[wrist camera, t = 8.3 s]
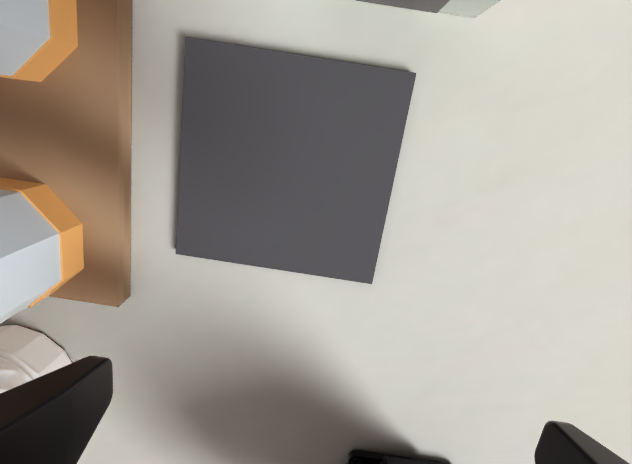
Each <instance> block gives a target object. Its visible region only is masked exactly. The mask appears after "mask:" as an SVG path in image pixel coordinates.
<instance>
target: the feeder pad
mask: <svg viewBox="0 0 632 464" xmlns="http://www.w3.org/2000/svg"><path fill="white" fill-rule="evenodd" d="M415 77H416V73H413V72H407V71H400V70H394V69H388V68H381V67H375V66H369V65H362V64H356V63H350V62H343V61H337V60H330V59H324V58H318V57H311V56H305V55H299V54H292V53H286V52H280V51H273V50H267V49H261V48H254V47H248V46H242V45H235V44H229V43H222V42H216V41H210V40H203V39H197V38H191V37H185V57H184V80H183V102H182V125H181V148H180V170H179V193H178V216H177V239H176V254H180V255H186V256H193V257H199V258H206V259H212V260H219V261H225V262H232V263H238V264H245V265H252V266H258V267H265V268H271V269H278V270H284V271H291V272H297V273H304V274H310V275H317V276H323V277H330V278H336V279H343V280H349V281H356V282H362V283H369V284H372V281H373V276H374V272H375V267H376V262H377V257H378V253H379V248H380V243H381V238H382V234H383V229H384V224H385V219H386V215H387V210H388V205H389V200H390V196H391V191H392V186H393V181H394V177H395V172H396V167H397V162H398V158H399V153H400V148H401V143H402V139H403V134H404V129H405V124H406V120H407V115H408V110H409V105H410V101H411V96H412V91H413V86H414V81H415Z"/></svg>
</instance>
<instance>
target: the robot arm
mask: <svg viewBox="0 0 632 464" xmlns="http://www.w3.org/2000/svg"><path fill="white" fill-rule="evenodd" d="M112 394H113V372H112V362H111V360H110V359H109V358H105V357H98V356H88V357H85V358H83V359H81V360H78V361H76V362H74V363H71V364H69V365H66V366H64V367H62V368H59V369H57V370H55V371H52V372H50V373H48V374H45V375H43V376H41V377H38V378H36V379H33V380H31V381H29V382H26V383H24V384H22V385H19V386H17V387H15V388H12V389H10V390H7V391H5V392H3V393H0V464H77V462H78V460H79V459H80V457H81V455H82V453H83V451H84V450H85V448H86V446H87V444H88V442H89V440H90V439H91V437H92V435H93V433H94V431H95V430H96V428H97V426H98V424H99V422H100V420H101V419H102V417H103V415H104V413H105V411H106V409H107V408H108V406H109V404H110V401H111V399H112ZM354 459H358V460H354ZM346 464H447V463H441V462H434V461H427V460H421V459H414V458H407V457H401V456H394V455H388V454H381V453H374V452H368V451H361V450H353V451H351V452H350V453H349V454H348V458H347V462H346ZM535 464H629V463H628V462H626V461H625V460H623V459H622V458H620V457H619V456H618V455H616V454H615V453H613V452H612V451H610V450H609V449H607V448H606V447H604V446H603V445H601V444H600V443H598V442H597V441H595V440H594V439H593V438H591V437H590V436H588V435H587V434H585V433H584V432H582V431H581V430H579V429H578V428H576V427H575V426H573V425H572V424H569V423H565V422H558V421H548V422H547V423H546V424H545V426H544V428H543V431H542V434H541V437H540V439H539V442H538V445H537V447H536V450H535Z"/></svg>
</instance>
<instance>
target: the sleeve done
mask: <svg viewBox="0 0 632 464" xmlns="http://www.w3.org/2000/svg"><path fill="white" fill-rule="evenodd" d="M82 269H84V255H83V223H82V222H81V221H80V220H79V219H78V218H77V217H76V216H75V215H74V214H73V213H72V212H71V211H70V209H69V208H68V207H67V206H66V205H65V204H64V203H63V202H62V201H61V200H60V199H59V198H58V197H57V195H56V194H55V193H54V192H53V191H52V190H51V189H50V188H49V187H48V186H47V185H46V184H41V183H35V182H28V181H22V180H16V179H9V178H3V177H0V324H1V323H2V322H4V321H5V320H7V319H8V318H10V317H12V316H13V315H15V314H16V313H18V312H20V311H21V310H23V309H24V308H26V307H32V306H33V305H35V304H37V303H38V302H40V301H41V300H43V299H44V298H46V297H48V296H49V295H51V294H52V293H54V292H55V291H56V290H57V289H59V288H60V287H61V286H62V285H64V284H65V283H66V282H67V281H69V280H70V279H71V278H72V277H74V276H75V275H76V274H77V273H79V272H80V271H81V270H82Z"/></svg>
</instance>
